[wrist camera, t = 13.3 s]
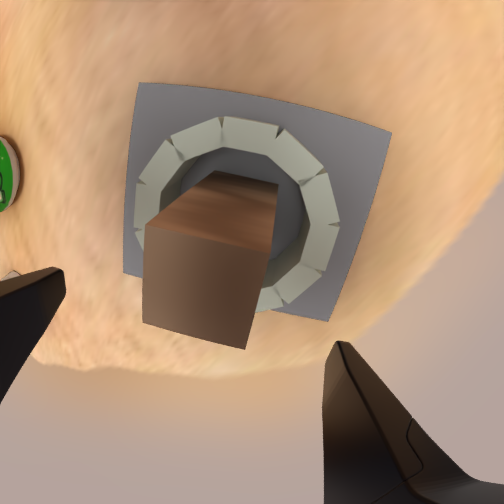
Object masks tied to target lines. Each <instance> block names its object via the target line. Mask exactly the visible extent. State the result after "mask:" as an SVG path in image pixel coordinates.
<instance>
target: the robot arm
mask: <svg viewBox="0 0 504 504" xmlns="http://www.w3.org/2000/svg"><path fill="white" fill-rule="evenodd" d="M65 295H66V286H65V278H64V272H63V270H61V269H59V268H56V267H49V268H45V269H42V270H38V271H34V272H31V273H27V274H24V275H20V276H17V277H13V278H10V279H6V280H3V281H0V404H1V401H2V400H3V398H4V396H5V395H6V393H7V391H8V389H9V388H10V386H11V384H12V382H13V381H14V379H15V377H16V376H17V374H18V372H19V371H20V369H21V368H22V366H23V364H24V363H25V361H26V360H27V358H28V356H29V355H30V353H31V352H32V350H33V349H34V347H35V346H36V344H37V343H38V341H39V340H40V338H41V337H42V335H43V334H44V332H45V330H46V329H47V327H48V325H49V324H50V322H51V320H52V318H53V316H54V315H55V313H56V311H57V309H58V308H59V306H60V304H61V302H62V301H63V299H64V297H65ZM322 418H323V419H322V420H323V450H324V504H504V485H503V484H496V483H489V482H484V481H480V480H477V479H474V478H472V477H471V476H469V475H468V474H466V473H465V472H464V471H463V470H462V469H461V468H460V467H459V466H458V465H457V464H456V463H455V462H454V461H453V460H452V459H451V458H450V457H449V456H448V455H447V454H446V453H445V452H444V451H443V450H442V449H441V448H440V447H439V446H438V445H437V444H436V443H435V442H434V441H433V440H432V439H431V438H430V437H429V436H428V434H426V432H425V431H424V430H423V429H422V428H421V426H420V425H419V424H418V423H417V422H416V420H415V419H414V418H412V416H411V415H410V413H409V412H408V411H407V410H406V409H405V407H404V406H403V405H402V404H401V403H400V401H399V400H398V399H397V398H396V397H395V396H394V394H393V393H392V392H391V391H390V390H389V388H387V386H386V385H385V384H384V382H383V381H382V380H381V379H380V378H379V377H378V375H377V374H376V373H375V372H374V371H373V370H372V368H371V367H370V366H369V365H368V364H367V363H366V361H365V360H364V359H363V358H362V357H361V355H360V354H359V353H358V352H357V351H356V350H355V349H354V347H353V346H352V345H351V344H350V343H349V342H344V341H336V342H335V343H334V345H333V347H332V349H331V351H330V354H329V356H328V358H327V360H326V363H325V374H324V390H323V402H322Z"/></svg>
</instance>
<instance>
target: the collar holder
mask: <svg viewBox="0 0 504 504" xmlns="http://www.w3.org/2000/svg"><path fill="white" fill-rule="evenodd" d="M391 135H392V133H391V132H388V131H385V130H383V129H380V128H377V127H374V126H371V125H368V124H365V123H362V122H359V121H356V120H352V119H349V118H346V117H342V116H339V115H336V114H332V113H329V112H325V111H321V110H317V109H314V108H310V107H306V106H302V105H297V104H293V103H289V102H284V101H280V100H275V99H270V98H265V97H260V96H255V95H249V94H243V93H237V92H231V91H224V90H217V89H210V88H202V87H193V86H183V85H172V84H159V83H140V82H139V84H138V90H137V96H136V102H135V108H134V115H133V122H132V129H131V137H130V145H129V155H128V165H127V176H126V189H125V206H124V233H123V273H126V274H129V275H133V276H136V277H140V278H143V252H144V233H145V224H146V223H148V222H149V221H150V220H151V219H152V218H154V217H155V216H156V215H157V214H159V213H160V212H161V211H162V210H164V209H165V208H166V207H167V206H169V205H170V204H171V203H172V202H174V201H175V200H176V199H177V198H179V197H180V196H181V195H183V194H184V193H185V192H186V191H188V190H189V189H190V188H192V187H193V186H194V185H196V184H197V183H198V182H199V181H201V180H202V179H203V178H205V177H206V176H207V175H209V174H210V173H212V172H213V171H214V170H216V171H221V172H226V173H230V174H235V175H240V176H245V177H249V178H254V179H258V180H263V181H267V182H271V183H276V184H279V185H278V194H277V203H276V211H275V220H274V228H273V236H272V244H271V252H270V257H269V261H268V265H267V269H266V272H265V276H264V280H263V284H262V288H261V292H260V295H259V299H258V303H257V307H256V311H255V313H256V312H261V311H266V310H273V311H278V312H283V313H288V314H292V315H297V316H302V317H307V318H312V319H317V320H322V321H327V322H328V321H329V318H330V316H331V314H332V311H333V309H334V306H335V304H336V302H337V299H338V297H339V294H340V292H341V289H342V287H343V284H344V281H345V279H346V276H347V274H348V271H349V268H350V266H351V263H352V260H353V258H354V255H355V252H356V249H357V246H358V244H359V241H360V238H361V235H362V232H363V229H364V226H365V223H366V220H367V217H368V214H369V211H370V208H371V205H372V202H373V198H374V195H375V192H376V189H377V185H378V182H379V179H380V175H381V172H382V168H383V165H384V161H385V157H386V154H387V150H388V146H389V142H390V139H391Z"/></svg>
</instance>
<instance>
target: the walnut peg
mask: <svg viewBox="0 0 504 504" xmlns="http://www.w3.org/2000/svg"><path fill="white" fill-rule="evenodd" d="M278 185H279V184H276V183H271V182H267V181H263V180H258V179H254V178H249V177H245V176H240V175H235V174H230V173H226V172H221V171H216V170H214V171H213V172H212V173H210V174H209V175H207V176H206V177H205V178H203V179H202V180H201V181H199V182H198V183H197V184H196V185H194V186H193V187H192V188H190V189H189V190H188V191H186V192H185V193H184V194H183V195H181V196H180V197H179V198H177V199H176V200H175V201H174V202H172V203H171V204H170V205H169V206H167V207H166V208H165V209H164V210H162V211H161V212H160V213H159V214H157V215H156V216H155V217H154V218H152V219H151V220H150V221H149V222H148V223H146V224H145V233H144V252H143V288H142V319H143V323H146V324H149V325H153V326H156V327H159V328H163V329H166V330H170V331H173V332H177V333H180V334H184V335H188V336H191V337H195V338H199V339H203V340H207V341H211V342H215V343H219V344H223V345H227V346H231V347H235V348H240V349H244V350H245V348H246V344H247V341H248V337H249V333H250V329H251V326H252V322H253V318H254V314H255V311H256V307H257V303H258V299H259V295H260V292H261V288H262V284H263V280H264V276H265V272H266V269H267V265H268V261H269V257H270V252H271V244H272V236H273V228H274V220H275V211H276V203H277V194H278Z"/></svg>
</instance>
